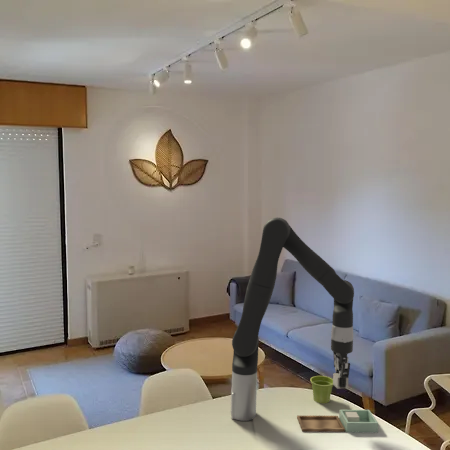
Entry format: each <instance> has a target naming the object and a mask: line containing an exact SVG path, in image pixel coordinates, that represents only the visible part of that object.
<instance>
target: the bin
mask: <svg viewBox="0 0 450 450" xmlns="http://www.w3.org/2000/svg"><path fill="white" fill-rule="evenodd" d="M338 412H339V415H338V417H339V419H340V421H341V423H342V425H343V426H344V428H345V432H346V433H379V422H378V420H377V419H376V417H375V416H374V414H373V413H372V412H371V410H370V409H339V411H338ZM345 412H356V413H357V414H358V416H359V422H348V420H347V418H346V417H345Z"/></svg>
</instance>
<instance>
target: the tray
mask: <svg viewBox="0 0 450 450" xmlns="http://www.w3.org/2000/svg"><path fill="white" fill-rule="evenodd" d="M296 418H297V422H298V424H299V427H300V429H301V431H302V432H303V433H304V432H305V433H306V432H307V433H308V432H309V433H314V432H315V433H319V432H322V433H323V432H325V433H326V432H328V433H329V432H330V433H331V432H333V433H334V432H335V433H336V432H337V433H338V432H339V433H345V432H346V430H345V428H344V426H343V425H342V423H341V421H340V419H339V415H297V416H296Z"/></svg>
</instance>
